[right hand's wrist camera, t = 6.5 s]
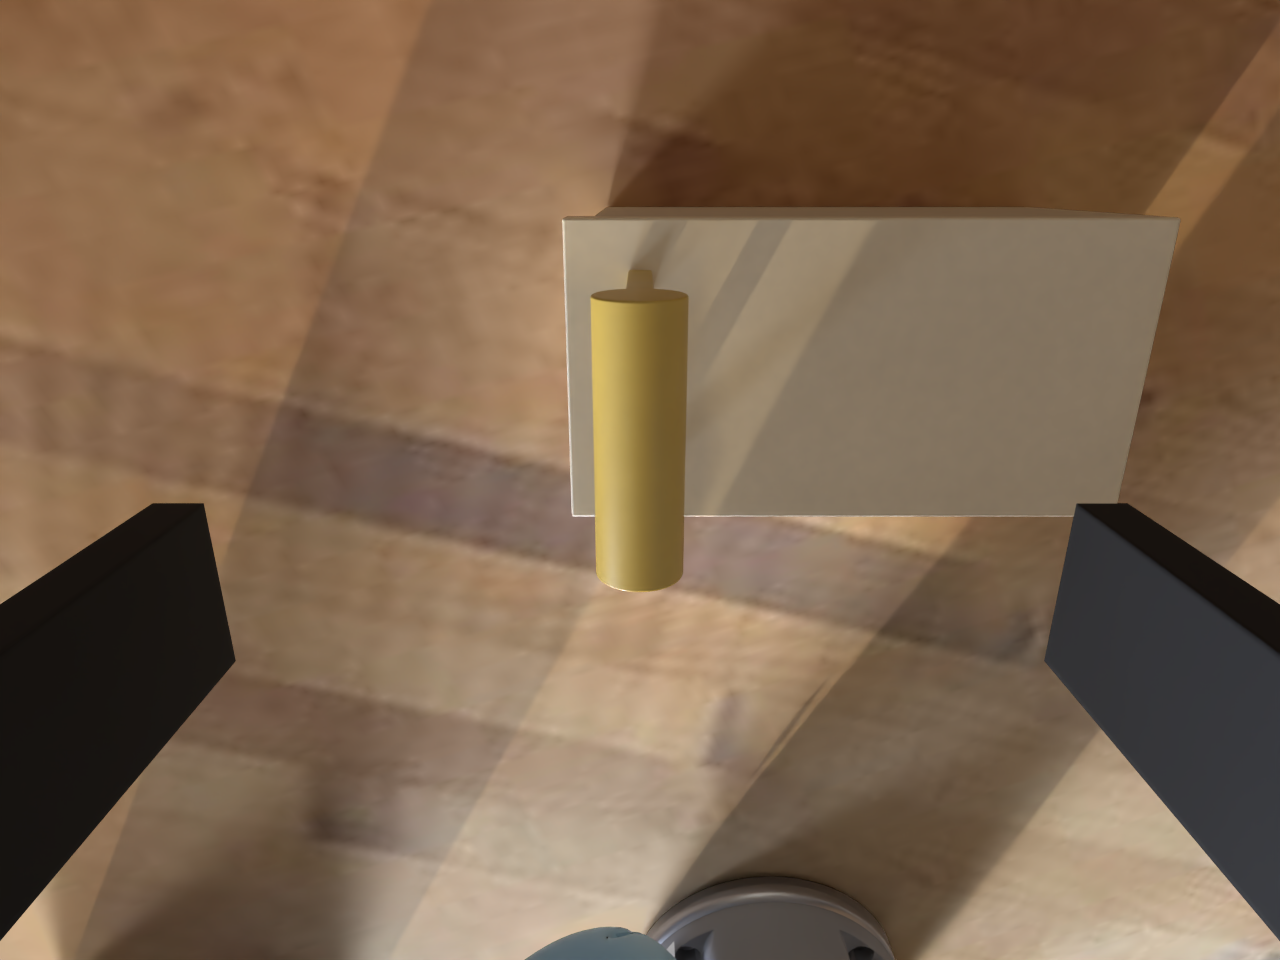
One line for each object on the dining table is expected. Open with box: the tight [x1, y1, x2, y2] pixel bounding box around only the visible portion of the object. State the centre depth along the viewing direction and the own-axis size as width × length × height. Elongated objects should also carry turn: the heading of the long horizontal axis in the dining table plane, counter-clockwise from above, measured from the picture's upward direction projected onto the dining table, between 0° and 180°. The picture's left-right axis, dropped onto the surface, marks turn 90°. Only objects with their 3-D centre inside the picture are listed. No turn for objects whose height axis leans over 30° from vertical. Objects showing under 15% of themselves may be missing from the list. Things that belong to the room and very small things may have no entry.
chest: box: [596, 207, 1150, 216], centre depth 30 cm, size 17×10×9 cm, turn 90°
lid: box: [562, 216, 1180, 592], centre depth 22 cm, size 18×9×9 cm, turn 90°
